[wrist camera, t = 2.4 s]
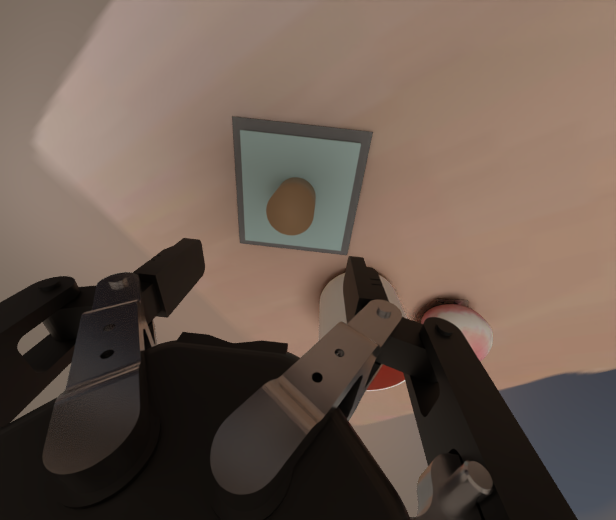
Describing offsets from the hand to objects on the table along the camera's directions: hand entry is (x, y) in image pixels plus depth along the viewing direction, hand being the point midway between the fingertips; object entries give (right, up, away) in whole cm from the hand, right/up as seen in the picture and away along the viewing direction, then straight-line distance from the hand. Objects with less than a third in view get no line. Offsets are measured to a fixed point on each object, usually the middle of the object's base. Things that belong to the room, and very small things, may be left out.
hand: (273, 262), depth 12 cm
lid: (+1, +7, +12) cm, 14 cm away
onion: (+21, -8, +20) cm, 29 cm away
